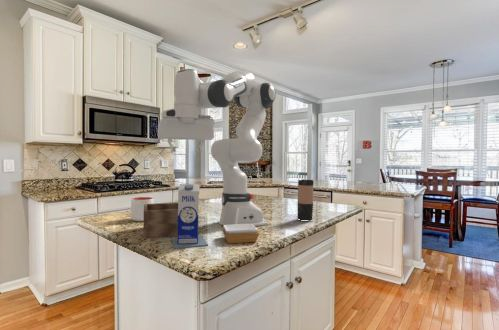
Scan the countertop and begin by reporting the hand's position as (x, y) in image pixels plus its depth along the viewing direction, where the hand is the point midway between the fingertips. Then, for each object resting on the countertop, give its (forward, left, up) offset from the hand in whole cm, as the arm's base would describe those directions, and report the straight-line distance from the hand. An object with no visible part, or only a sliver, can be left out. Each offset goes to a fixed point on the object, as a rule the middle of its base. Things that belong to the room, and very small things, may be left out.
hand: (186, 151), depth 104 cm
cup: (+15, -37, -32) cm, 51 cm away
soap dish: (-19, +8, -32) cm, 38 cm away
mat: (-1, +6, -32) cm, 32 cm away
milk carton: (0, +6, -32) cm, 32 cm away
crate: (+6, -12, -32) cm, 35 cm away
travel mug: (-61, -16, -32) cm, 71 cm away
